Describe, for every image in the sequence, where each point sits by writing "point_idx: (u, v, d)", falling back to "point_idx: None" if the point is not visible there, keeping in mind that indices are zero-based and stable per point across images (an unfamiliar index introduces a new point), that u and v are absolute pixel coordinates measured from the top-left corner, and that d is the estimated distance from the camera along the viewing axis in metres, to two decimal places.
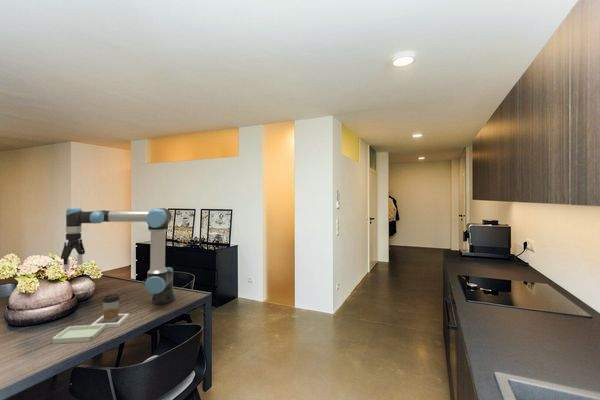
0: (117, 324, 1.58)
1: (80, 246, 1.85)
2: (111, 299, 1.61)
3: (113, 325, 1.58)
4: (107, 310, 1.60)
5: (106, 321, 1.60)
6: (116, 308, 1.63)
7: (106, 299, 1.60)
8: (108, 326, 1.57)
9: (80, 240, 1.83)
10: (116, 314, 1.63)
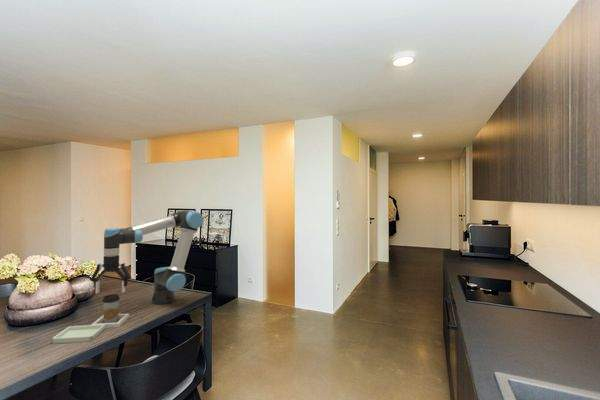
0: (117, 324, 1.58)
1: (124, 271, 1.65)
2: (111, 299, 1.61)
3: (113, 325, 1.58)
4: (107, 310, 1.60)
5: (106, 321, 1.60)
6: (116, 308, 1.63)
7: (106, 299, 1.60)
8: (108, 326, 1.57)
9: (121, 265, 1.64)
10: (116, 314, 1.63)
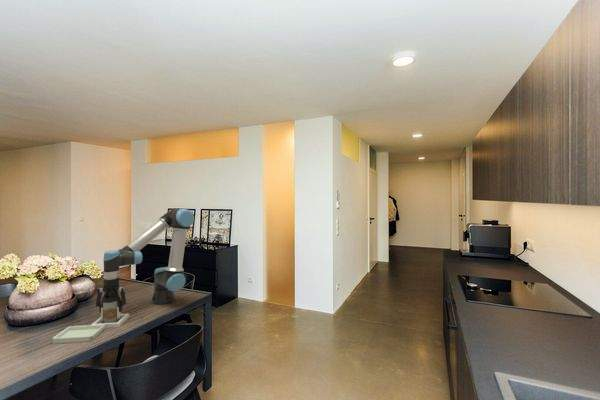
0: (117, 324, 1.58)
1: None
2: (111, 299, 1.61)
3: (113, 325, 1.58)
4: (107, 310, 1.60)
5: (106, 321, 1.60)
6: (116, 308, 1.63)
7: (106, 299, 1.60)
8: (108, 326, 1.57)
9: (121, 289, 1.64)
10: (116, 314, 1.63)
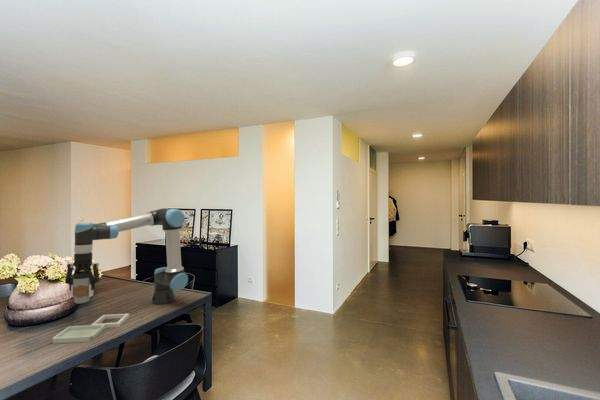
0: (117, 324, 1.58)
1: None
2: (82, 275, 1.46)
3: (113, 325, 1.58)
4: (77, 287, 1.45)
5: (76, 299, 1.45)
6: (88, 285, 1.48)
7: (76, 275, 1.45)
8: (108, 326, 1.57)
9: (94, 264, 1.49)
10: (88, 292, 1.48)
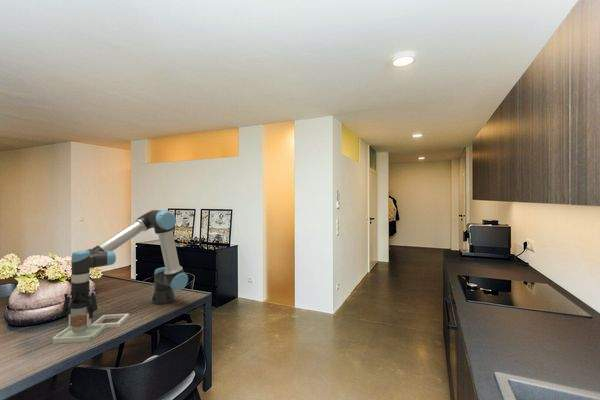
0: (117, 324, 1.58)
1: None
2: (80, 305, 1.45)
3: (113, 325, 1.58)
4: (75, 316, 1.44)
5: (74, 329, 1.44)
6: (86, 315, 1.47)
7: (74, 305, 1.44)
8: (108, 326, 1.57)
9: None
10: (86, 321, 1.47)
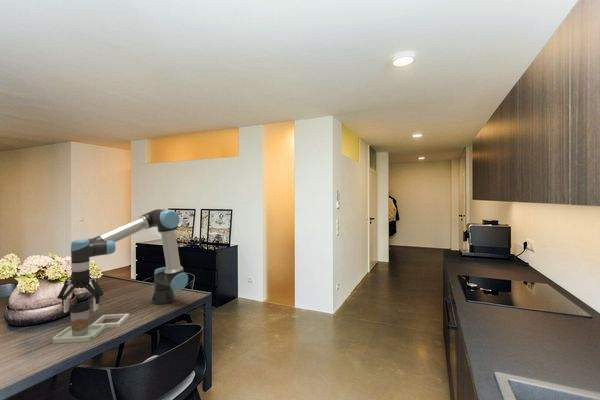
0: (117, 324, 1.58)
1: None
2: (80, 309, 1.45)
3: (113, 325, 1.58)
4: (75, 320, 1.44)
5: (74, 333, 1.45)
6: (86, 318, 1.47)
7: (74, 309, 1.44)
8: (108, 326, 1.57)
9: (91, 280, 1.48)
10: (86, 325, 1.47)
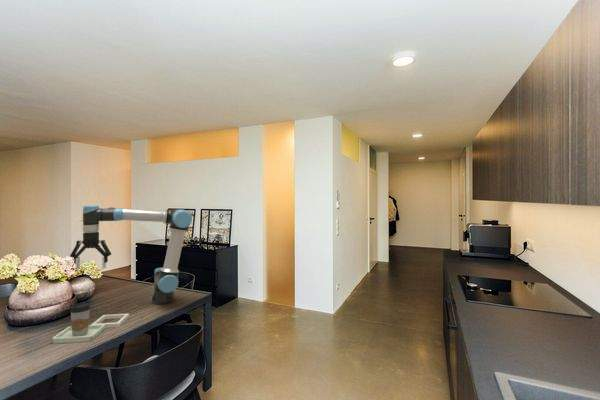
0: (117, 324, 1.58)
1: (104, 248, 1.67)
2: (80, 308, 1.45)
3: (113, 325, 1.58)
4: (75, 320, 1.44)
5: (74, 333, 1.45)
6: (86, 318, 1.47)
7: (74, 308, 1.44)
8: (108, 326, 1.57)
9: (101, 241, 1.66)
10: (86, 325, 1.47)
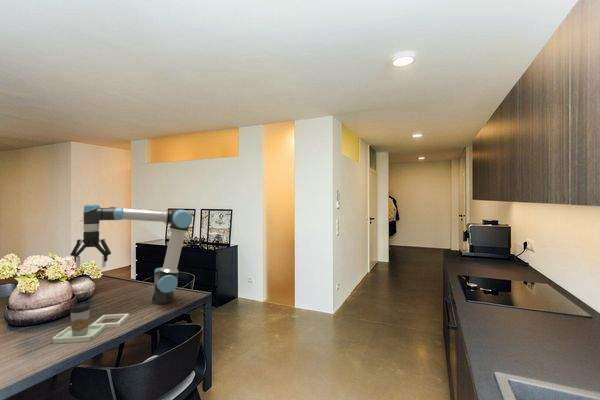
0: (117, 324, 1.58)
1: None
2: (80, 309, 1.45)
3: (113, 325, 1.58)
4: (75, 320, 1.44)
5: (74, 333, 1.45)
6: (86, 318, 1.47)
7: (74, 309, 1.44)
8: (108, 326, 1.57)
9: (101, 240, 1.66)
10: (86, 325, 1.47)
